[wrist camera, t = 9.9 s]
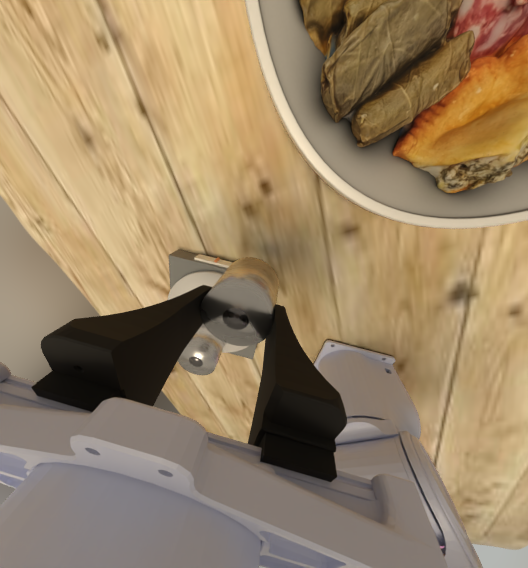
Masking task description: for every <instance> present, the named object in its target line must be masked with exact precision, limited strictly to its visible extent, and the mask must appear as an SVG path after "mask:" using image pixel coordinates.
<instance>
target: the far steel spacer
mask: <svg viewBox="0 0 528 568" xmlns="http://www.w3.org/2000/svg"><path fill="white" fill-rule="evenodd" d="M225 344H226V343H225V342H223V341H221V340H219V339H218V338H216V337H215V336H213V335H212V334H211V333H210V332H209V331H208V330H207V328H206V327H205V326H204V324H202V325H201V327H200V328H199V330H198V331H197V332H196V334H195V335H194V337H193V338H192V339H191V341H190V342H189V343H188V345H187V346H186V348H185V349H184V351H183V352H182V354H181V355H180V357H179V359H178V362H179V364H180V365H181V366H182V367H183V368H184V369H185V370H187V371H189V372H191V373H193V374H197V375H208V374H210V373H212V372H213V371H214V369H215V367H216V365H217V362H218V360H219V358H220V356H221V353H222V351H223V349H224V347H225Z"/></svg>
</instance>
